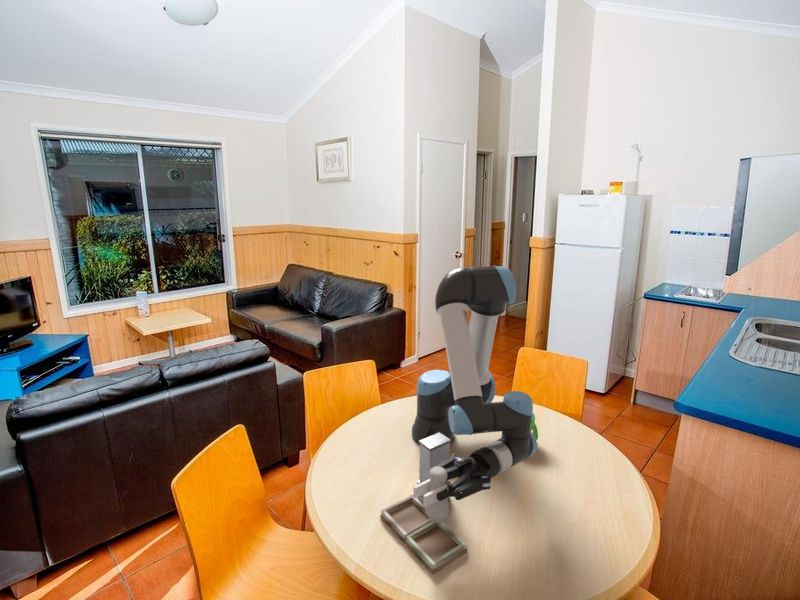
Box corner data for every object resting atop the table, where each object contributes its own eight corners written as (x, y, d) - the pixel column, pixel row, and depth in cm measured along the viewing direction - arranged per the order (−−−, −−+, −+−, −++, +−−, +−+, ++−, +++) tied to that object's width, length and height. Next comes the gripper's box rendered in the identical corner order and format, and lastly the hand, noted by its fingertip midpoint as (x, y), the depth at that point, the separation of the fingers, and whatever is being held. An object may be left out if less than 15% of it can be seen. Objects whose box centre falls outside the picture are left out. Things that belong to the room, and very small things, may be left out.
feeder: (417, 499, 125) (417, 440, 121) (438, 488, 130) (439, 431, 125) (433, 514, 120) (435, 454, 115) (455, 502, 124) (458, 443, 119)
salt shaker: (446, 528, 103) (448, 480, 99) (422, 523, 104) (423, 475, 101) (450, 511, 108) (452, 464, 105) (427, 506, 110) (428, 461, 106)
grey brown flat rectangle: (380, 517, 118) (380, 510, 118) (412, 501, 125) (412, 494, 124) (432, 574, 101) (432, 566, 101) (467, 552, 107) (467, 544, 107)
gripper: (513, 489, 109) (441, 531, 96) (468, 458, 121) (399, 491, 108) (515, 463, 107) (442, 502, 94) (469, 434, 120) (399, 465, 106)
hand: (419, 496), depth 101 cm, fingers closed on salt shaker, 3 cm apart
